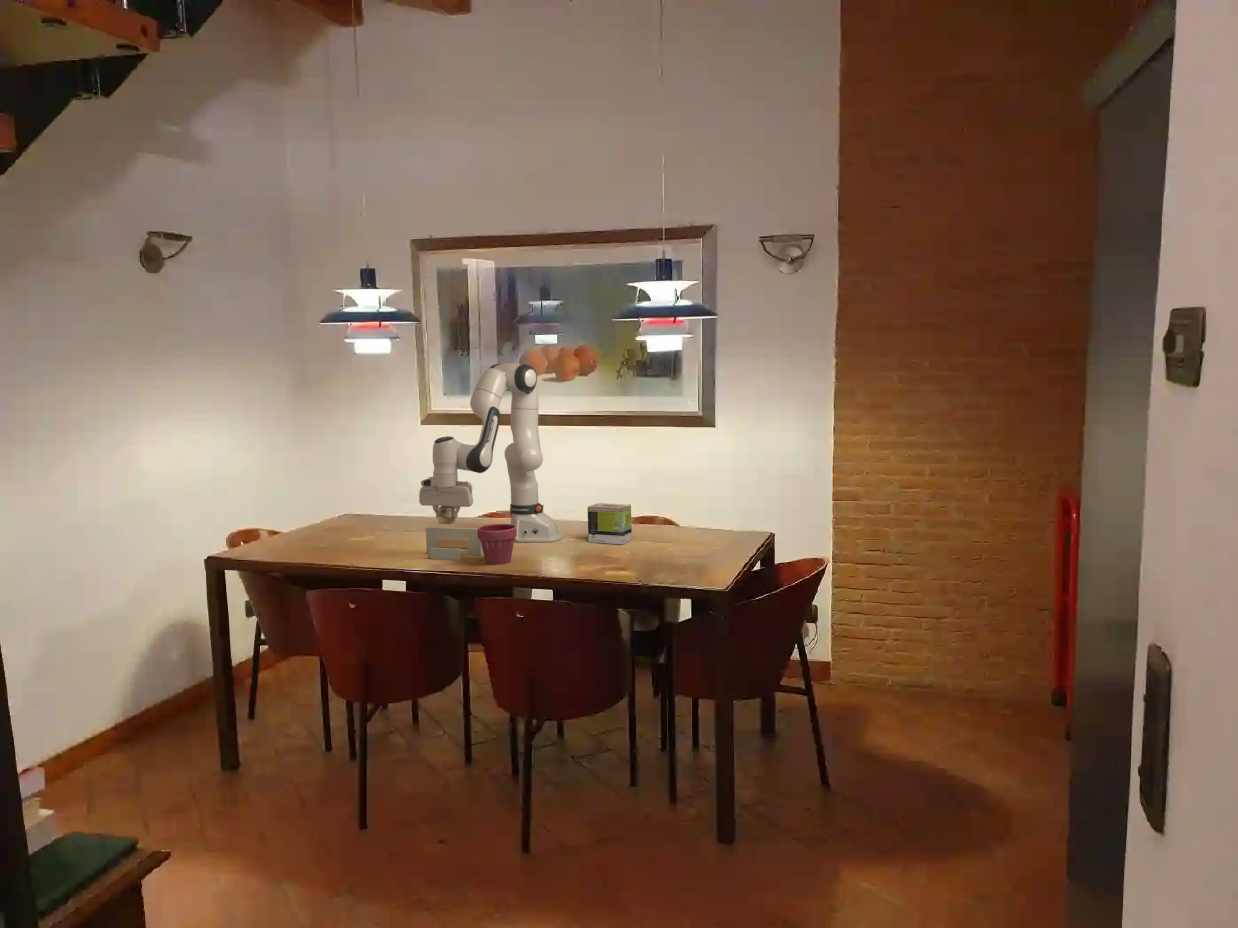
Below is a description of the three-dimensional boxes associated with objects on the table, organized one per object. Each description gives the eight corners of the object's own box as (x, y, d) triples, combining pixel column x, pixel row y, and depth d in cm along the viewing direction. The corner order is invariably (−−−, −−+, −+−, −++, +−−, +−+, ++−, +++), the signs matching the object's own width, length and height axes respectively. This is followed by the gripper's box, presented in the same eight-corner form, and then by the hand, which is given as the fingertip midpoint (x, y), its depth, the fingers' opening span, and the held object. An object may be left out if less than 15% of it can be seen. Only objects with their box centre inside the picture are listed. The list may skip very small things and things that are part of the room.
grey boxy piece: (483, 554, 351) (482, 528, 350) (472, 560, 341) (471, 533, 340) (429, 552, 356) (427, 526, 355) (417, 558, 346) (416, 531, 345)
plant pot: (480, 557, 346) (479, 523, 344) (518, 556, 347) (517, 522, 345) (477, 566, 331) (475, 531, 330) (516, 565, 332) (515, 530, 331)
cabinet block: (455, 522, 347) (455, 506, 346) (449, 524, 342) (449, 508, 341) (443, 521, 348) (442, 505, 347) (437, 524, 343) (436, 508, 342)
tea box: (632, 540, 372) (631, 503, 370) (622, 545, 363) (621, 508, 361) (598, 537, 378) (597, 501, 376) (587, 542, 369) (586, 505, 367)
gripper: (475, 480, 344) (476, 517, 346) (424, 479, 349) (425, 515, 350) (468, 482, 338) (469, 520, 340) (416, 481, 343) (417, 518, 344)
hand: (446, 517), depth 345 cm, fingers closed on cabinet block, 5 cm apart
